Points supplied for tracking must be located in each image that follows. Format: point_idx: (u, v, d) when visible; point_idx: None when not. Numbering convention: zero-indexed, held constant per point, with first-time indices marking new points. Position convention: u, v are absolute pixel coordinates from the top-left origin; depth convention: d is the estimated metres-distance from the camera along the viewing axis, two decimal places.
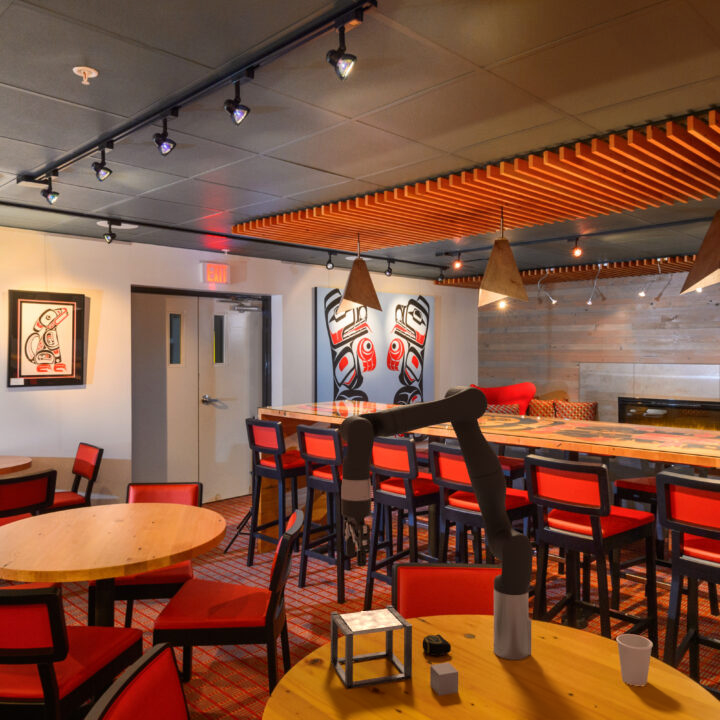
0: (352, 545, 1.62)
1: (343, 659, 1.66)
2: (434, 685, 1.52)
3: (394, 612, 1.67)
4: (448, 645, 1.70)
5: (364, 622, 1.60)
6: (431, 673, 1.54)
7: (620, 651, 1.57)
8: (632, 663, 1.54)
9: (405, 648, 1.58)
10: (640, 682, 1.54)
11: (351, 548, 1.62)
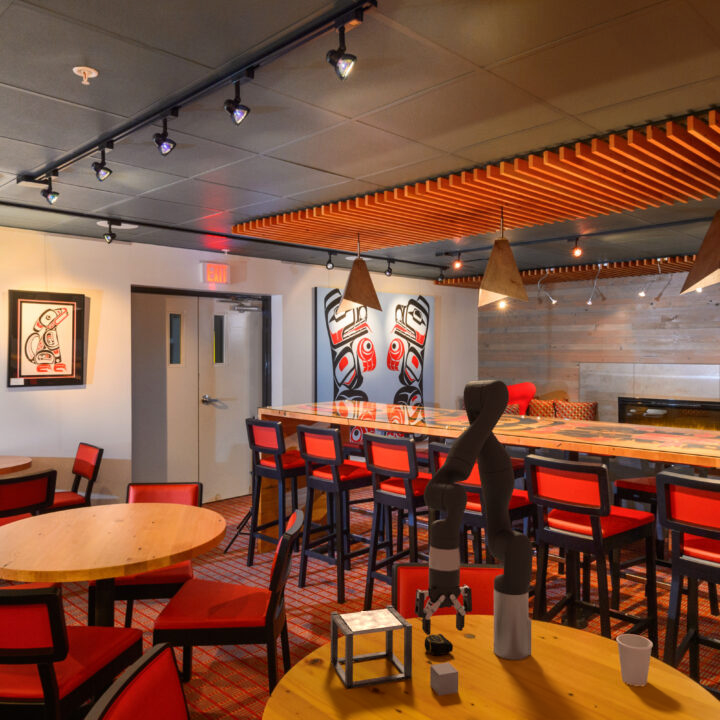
0: None
1: (343, 659, 1.66)
2: (434, 685, 1.52)
3: (394, 612, 1.67)
4: (450, 644, 1.71)
5: (364, 622, 1.60)
6: (431, 673, 1.54)
7: (620, 651, 1.57)
8: (632, 663, 1.54)
9: (405, 648, 1.58)
10: (640, 682, 1.54)
11: None
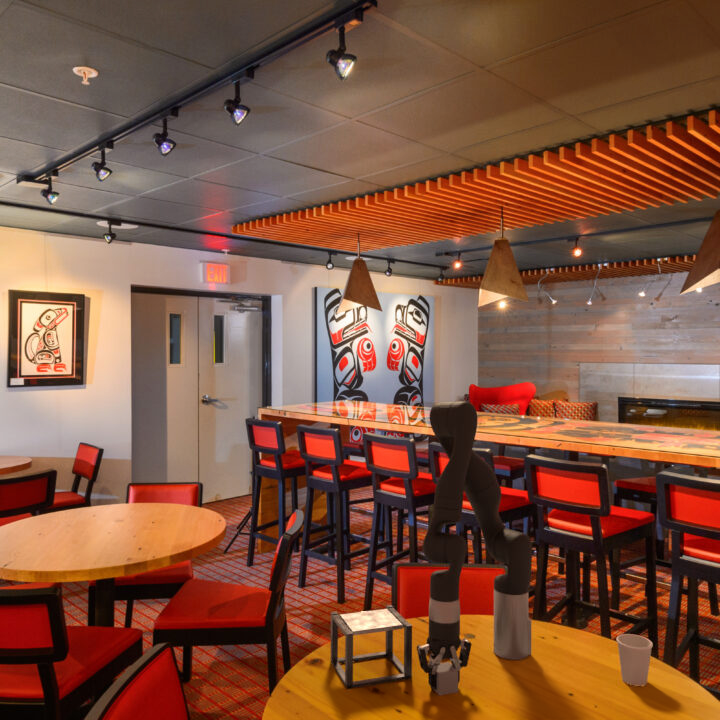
0: None
1: (343, 659, 1.66)
2: None
3: (394, 612, 1.67)
4: None
5: (364, 622, 1.60)
6: None
7: (620, 651, 1.57)
8: (632, 663, 1.54)
9: (405, 648, 1.58)
10: (640, 682, 1.54)
11: None
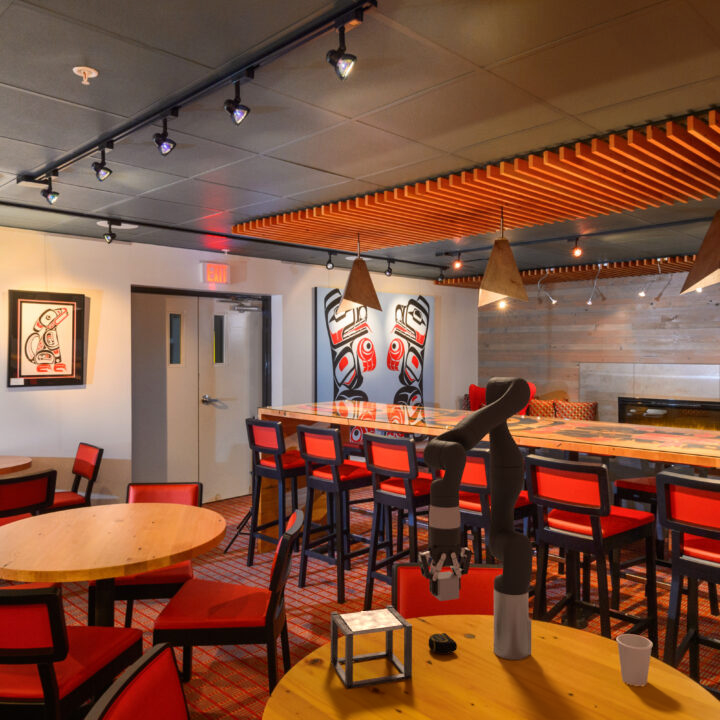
0: None
1: (343, 659, 1.66)
2: None
3: (394, 612, 1.67)
4: (454, 643, 1.71)
5: (364, 622, 1.60)
6: None
7: (620, 651, 1.57)
8: (632, 663, 1.54)
9: (405, 648, 1.58)
10: (640, 682, 1.54)
11: None
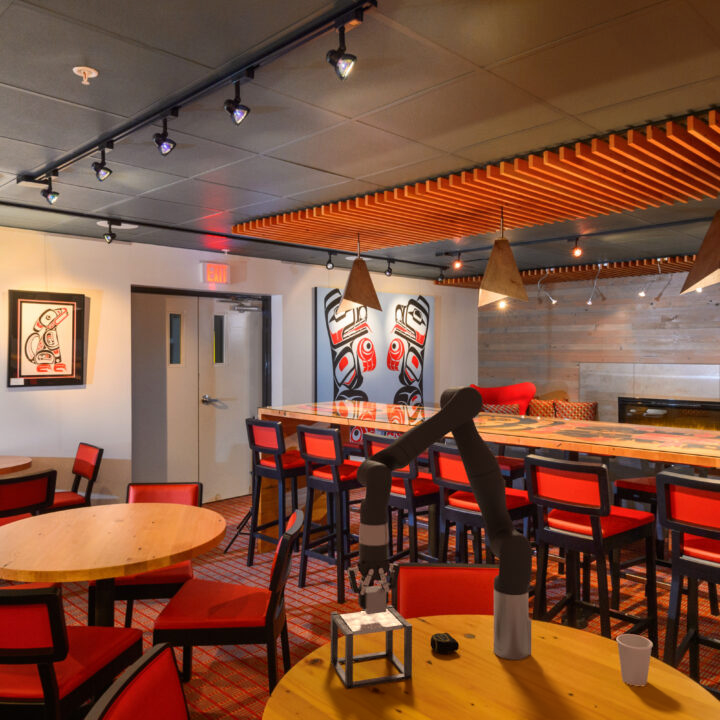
0: None
1: (343, 659, 1.66)
2: None
3: (394, 612, 1.67)
4: (456, 643, 1.72)
5: (364, 622, 1.60)
6: None
7: (620, 651, 1.57)
8: (632, 663, 1.54)
9: (405, 648, 1.58)
10: (640, 682, 1.54)
11: None
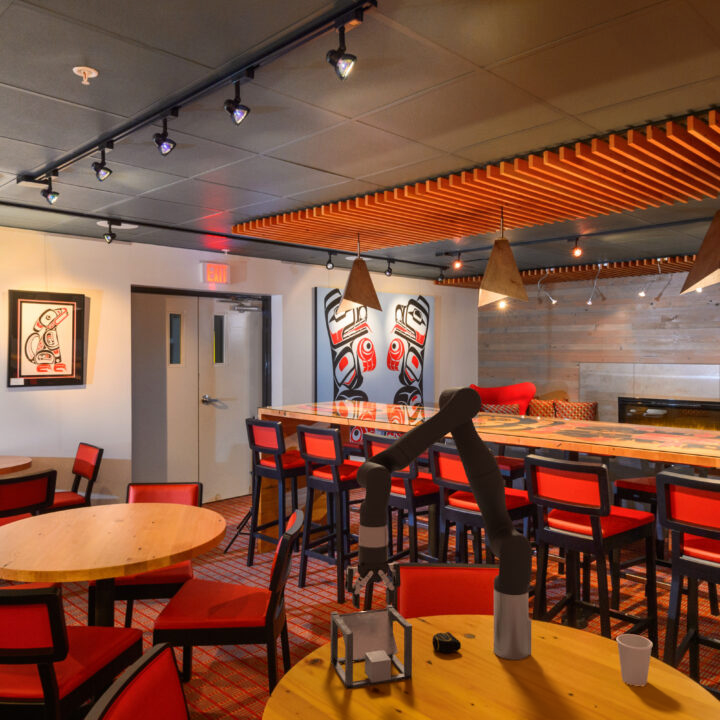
0: None
1: (343, 659, 1.66)
2: (366, 664, 1.57)
3: (394, 612, 1.67)
4: (458, 643, 1.72)
5: (361, 640, 1.61)
6: (369, 661, 1.55)
7: (620, 651, 1.57)
8: (632, 663, 1.54)
9: (405, 648, 1.58)
10: (640, 682, 1.54)
11: None
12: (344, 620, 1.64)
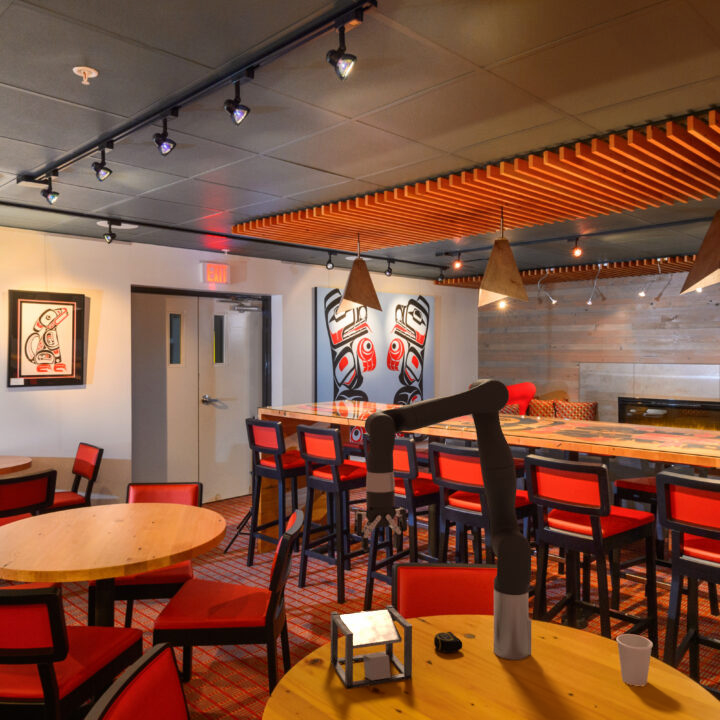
0: None
1: (343, 659, 1.66)
2: (365, 665, 1.58)
3: (394, 612, 1.67)
4: (459, 642, 1.72)
5: (363, 631, 1.60)
6: (367, 659, 1.57)
7: (620, 651, 1.57)
8: (632, 663, 1.54)
9: (405, 648, 1.58)
10: (640, 682, 1.54)
11: None
12: (344, 618, 1.64)
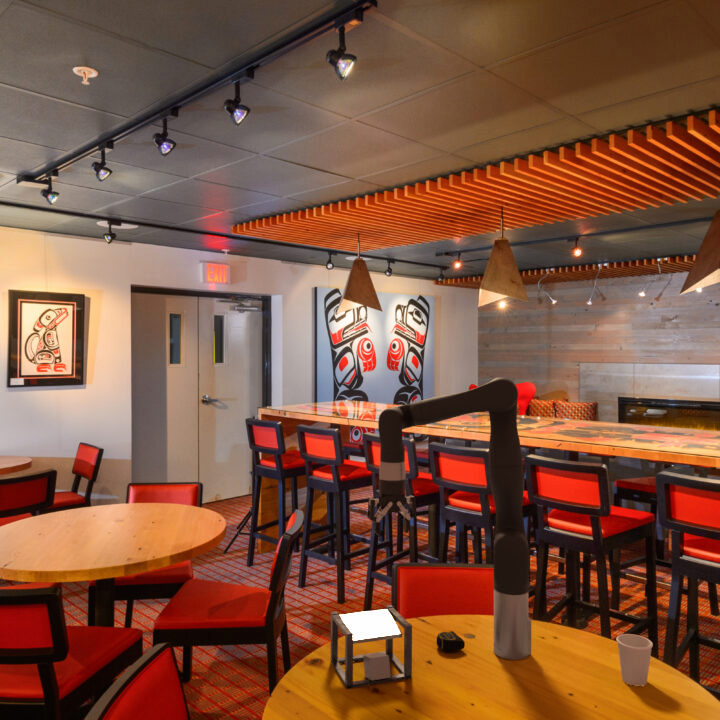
0: None
1: (343, 659, 1.66)
2: (365, 665, 1.58)
3: (394, 612, 1.67)
4: (462, 641, 1.73)
5: (363, 628, 1.60)
6: (367, 659, 1.57)
7: (620, 651, 1.57)
8: (632, 663, 1.54)
9: (405, 648, 1.58)
10: (640, 682, 1.54)
11: None
12: (344, 617, 1.64)
